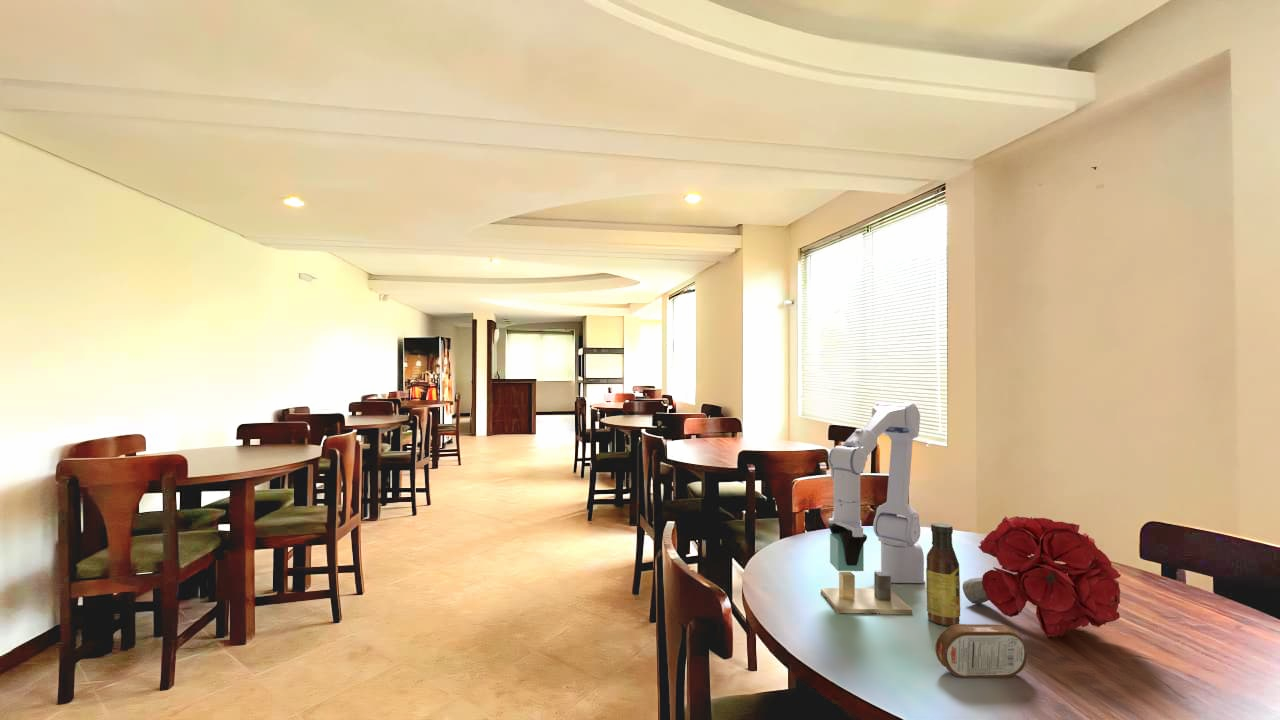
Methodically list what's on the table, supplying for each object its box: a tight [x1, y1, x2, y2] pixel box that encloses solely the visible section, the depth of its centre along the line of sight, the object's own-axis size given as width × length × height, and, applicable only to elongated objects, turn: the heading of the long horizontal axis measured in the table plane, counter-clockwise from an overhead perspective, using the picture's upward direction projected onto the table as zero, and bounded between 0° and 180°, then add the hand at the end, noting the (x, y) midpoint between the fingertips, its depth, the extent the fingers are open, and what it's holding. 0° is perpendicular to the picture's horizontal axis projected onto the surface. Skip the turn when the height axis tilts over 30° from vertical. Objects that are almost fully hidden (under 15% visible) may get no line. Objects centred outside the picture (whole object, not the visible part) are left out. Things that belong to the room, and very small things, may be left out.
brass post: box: [838, 571, 856, 600], centre depth 132 cm, size 3×3×6 cm
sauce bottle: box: [925, 522, 961, 627], centre depth 123 cm, size 6×6×20 cm
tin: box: [935, 623, 1029, 679], centre depth 101 cm, size 15×3×8 cm, turn 92°
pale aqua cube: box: [829, 533, 865, 572], centre depth 132 cm, size 6×6×7 cm
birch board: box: [820, 571, 913, 615], centre depth 132 cm, size 16×12×6 cm
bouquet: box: [962, 515, 1122, 638], centre depth 121 cm, size 22×24×30 cm
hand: (846, 560), depth 132 cm, fingers closed on pale aqua cube, 6 cm apart
